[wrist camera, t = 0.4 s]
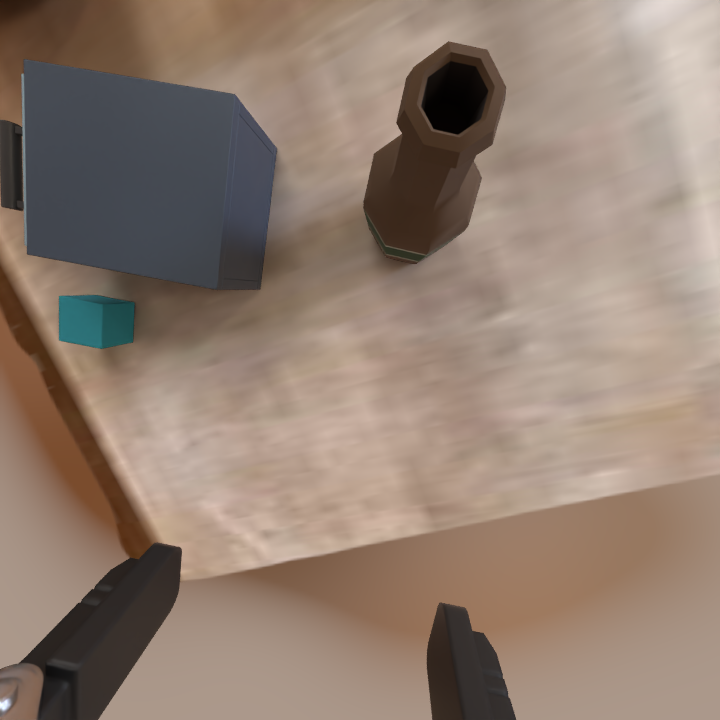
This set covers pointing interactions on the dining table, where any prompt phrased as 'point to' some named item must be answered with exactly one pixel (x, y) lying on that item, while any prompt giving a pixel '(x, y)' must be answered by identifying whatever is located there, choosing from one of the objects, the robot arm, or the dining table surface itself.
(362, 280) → the dining table surface
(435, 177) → the beer bottle
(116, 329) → the teal cube block
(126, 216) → the cabinet
